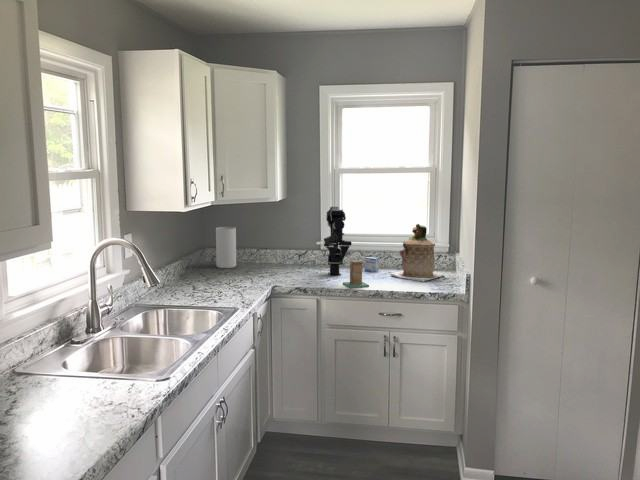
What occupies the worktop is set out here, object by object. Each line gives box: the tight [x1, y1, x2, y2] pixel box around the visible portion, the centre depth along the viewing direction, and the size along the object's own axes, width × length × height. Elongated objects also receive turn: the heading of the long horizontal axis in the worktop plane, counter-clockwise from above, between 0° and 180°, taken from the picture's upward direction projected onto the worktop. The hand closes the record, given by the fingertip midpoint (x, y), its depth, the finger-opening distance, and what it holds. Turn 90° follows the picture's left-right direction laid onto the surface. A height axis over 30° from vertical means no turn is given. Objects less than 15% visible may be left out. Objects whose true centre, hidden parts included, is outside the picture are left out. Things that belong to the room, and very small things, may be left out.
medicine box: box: [364, 256, 380, 273], centre depth 340 cm, size 8×4×9 cm, turn 62°
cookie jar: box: [389, 223, 445, 283], centre depth 324 cm, size 25×25×32 cm
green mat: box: [342, 281, 370, 289], centre depth 301 cm, size 11×11×1 cm
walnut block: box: [349, 259, 363, 285], centre depth 300 cm, size 5×5×12 cm
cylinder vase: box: [215, 226, 237, 269], centre depth 350 cm, size 12×12×25 cm
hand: (337, 258), depth 311 cm, fingers open, 9 cm apart
